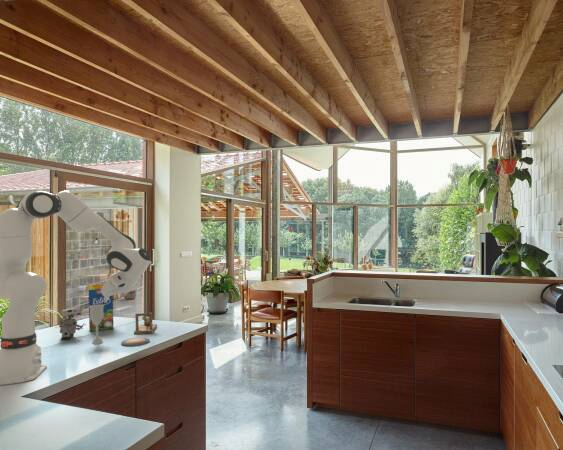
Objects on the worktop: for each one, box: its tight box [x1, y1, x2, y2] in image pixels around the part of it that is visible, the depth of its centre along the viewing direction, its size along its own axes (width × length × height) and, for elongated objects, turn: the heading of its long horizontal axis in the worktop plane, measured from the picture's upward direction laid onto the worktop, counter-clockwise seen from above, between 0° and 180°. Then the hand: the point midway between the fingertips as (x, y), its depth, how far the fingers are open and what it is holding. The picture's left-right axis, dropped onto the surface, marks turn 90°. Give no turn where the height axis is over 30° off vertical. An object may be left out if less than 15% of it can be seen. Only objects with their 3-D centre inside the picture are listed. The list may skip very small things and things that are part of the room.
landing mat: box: [120, 337, 151, 347], centre depth 208 cm, size 13×13×1 cm
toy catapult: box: [133, 312, 158, 335], centre depth 234 cm, size 16×9×10 cm, turn 7°
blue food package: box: [88, 283, 114, 332], centre depth 239 cm, size 6×12×25 cm, turn 117°
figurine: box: [58, 306, 86, 341], centre depth 222 cm, size 9×12×15 cm
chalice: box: [88, 304, 104, 345], centre depth 210 cm, size 7×7×18 cm
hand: (113, 297), depth 204 cm, fingers open, 8 cm apart
